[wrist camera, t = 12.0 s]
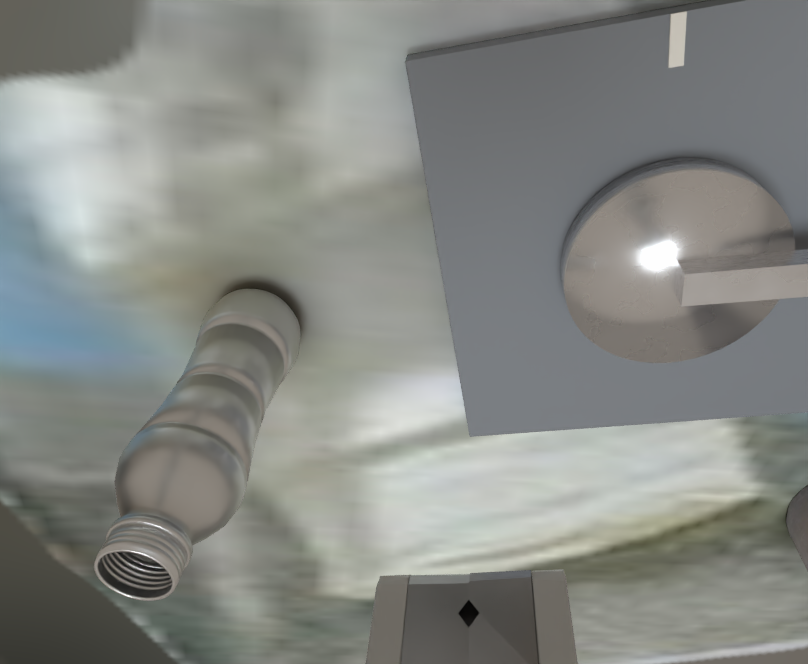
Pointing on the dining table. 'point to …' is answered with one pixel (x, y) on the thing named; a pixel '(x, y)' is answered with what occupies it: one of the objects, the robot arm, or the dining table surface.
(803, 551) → the pillar candle
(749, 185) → the dial
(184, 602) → the dining table surface
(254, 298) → the plastic bottle
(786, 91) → the dial plate
